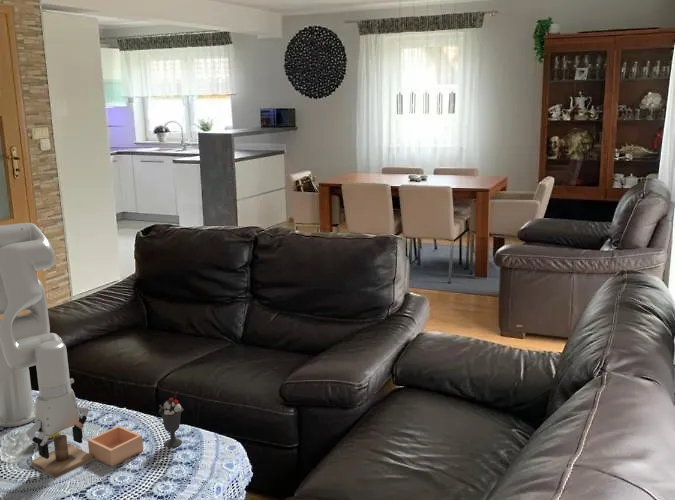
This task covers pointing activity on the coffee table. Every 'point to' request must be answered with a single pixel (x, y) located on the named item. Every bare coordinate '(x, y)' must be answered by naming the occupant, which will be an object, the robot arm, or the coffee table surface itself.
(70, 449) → the lid
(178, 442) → the sundae
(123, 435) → the open wooden box
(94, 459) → the mat
